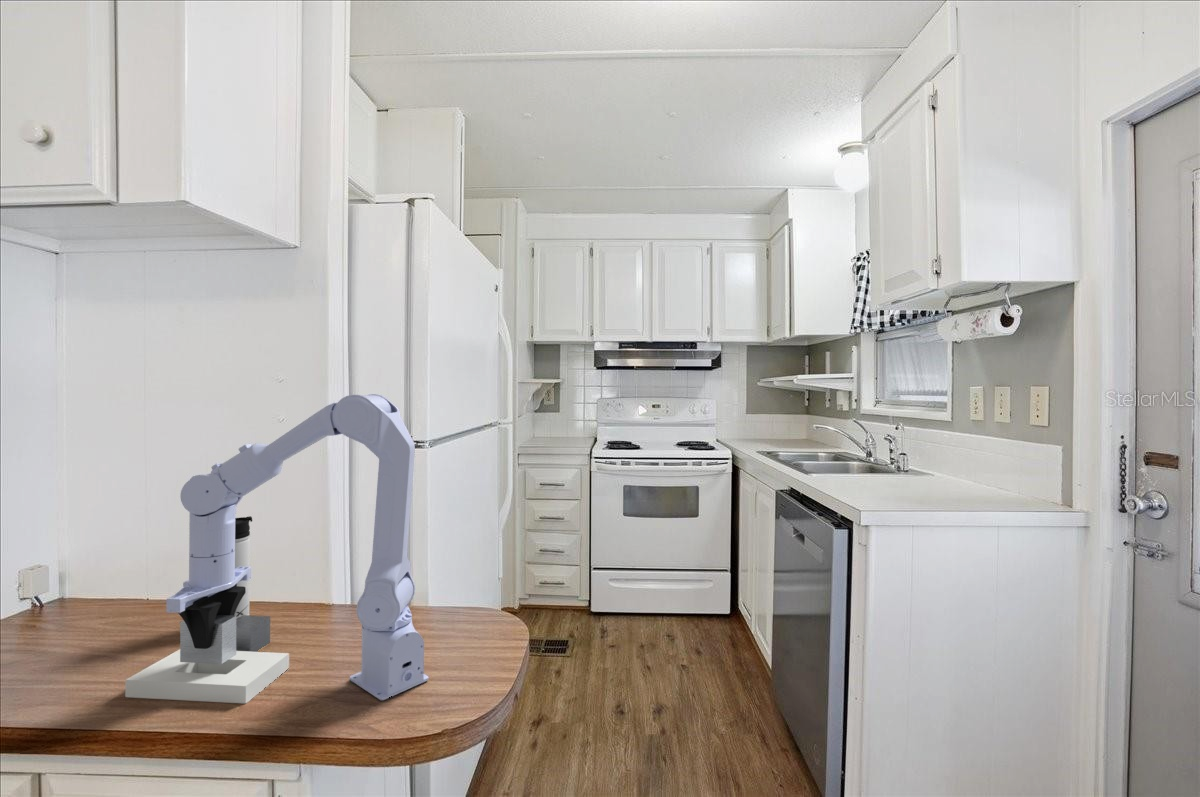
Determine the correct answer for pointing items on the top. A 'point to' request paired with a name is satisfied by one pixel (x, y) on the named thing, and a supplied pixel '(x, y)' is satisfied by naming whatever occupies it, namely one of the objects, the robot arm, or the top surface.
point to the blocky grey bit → (220, 646)
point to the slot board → (208, 678)
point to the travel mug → (242, 560)
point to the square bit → (252, 632)
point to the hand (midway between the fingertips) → (211, 642)
